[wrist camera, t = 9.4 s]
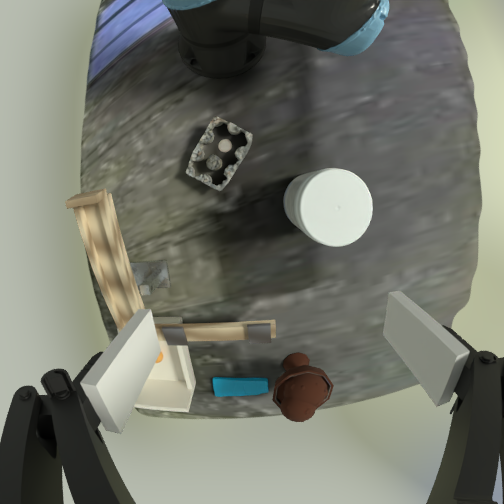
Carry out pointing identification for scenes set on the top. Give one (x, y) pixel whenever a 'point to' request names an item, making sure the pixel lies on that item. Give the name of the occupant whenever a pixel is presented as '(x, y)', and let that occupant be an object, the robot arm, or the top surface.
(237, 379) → the sponge
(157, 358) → the ball
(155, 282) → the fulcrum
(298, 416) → the ice cream bowl
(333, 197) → the supplement tub
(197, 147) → the egg carton
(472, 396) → the robot arm
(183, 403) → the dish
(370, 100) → the top surface
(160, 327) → the beige angled channel
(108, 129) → the top surface
